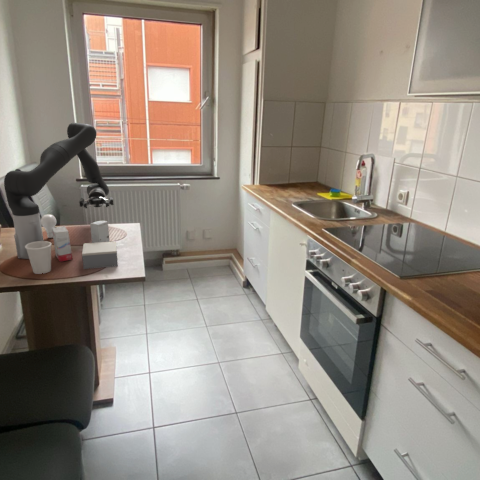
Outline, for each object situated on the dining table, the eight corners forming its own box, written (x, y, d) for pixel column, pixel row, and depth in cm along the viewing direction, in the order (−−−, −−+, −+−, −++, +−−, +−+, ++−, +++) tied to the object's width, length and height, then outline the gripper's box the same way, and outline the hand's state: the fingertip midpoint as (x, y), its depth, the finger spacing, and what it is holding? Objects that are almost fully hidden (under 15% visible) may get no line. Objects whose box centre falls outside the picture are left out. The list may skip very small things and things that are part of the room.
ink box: (72, 260, 147) (69, 231, 144) (58, 262, 145) (54, 233, 141) (68, 253, 154) (65, 225, 150) (54, 255, 151) (51, 227, 148)
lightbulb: (39, 239, 170) (36, 215, 167) (50, 235, 176) (47, 212, 172) (51, 240, 168) (47, 216, 165) (61, 236, 174) (58, 213, 171)
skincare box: (100, 253, 156) (97, 224, 152) (92, 251, 157) (89, 223, 153) (110, 248, 161) (108, 221, 157) (102, 247, 163) (100, 219, 159)
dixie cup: (35, 266, 140) (31, 240, 137) (58, 266, 141) (55, 240, 138) (24, 275, 132) (20, 248, 129) (49, 275, 133) (45, 248, 130)
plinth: (83, 269, 139) (81, 253, 137) (85, 257, 150) (83, 243, 148) (117, 266, 143) (116, 251, 141) (117, 255, 154) (115, 241, 152)
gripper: (80, 190, 176) (77, 197, 161) (112, 189, 180) (112, 196, 166) (81, 206, 178) (79, 214, 164) (113, 204, 183) (114, 212, 168)
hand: (96, 205), depth 165 cm, fingers open, 8 cm apart
